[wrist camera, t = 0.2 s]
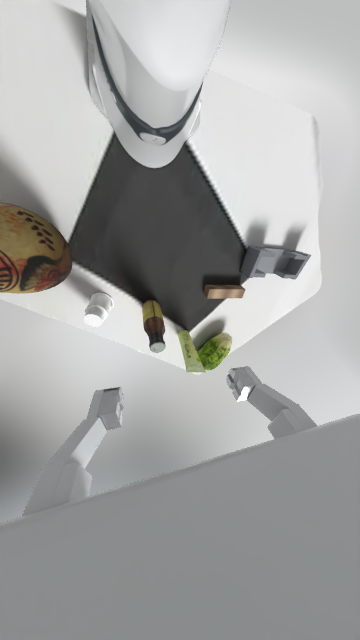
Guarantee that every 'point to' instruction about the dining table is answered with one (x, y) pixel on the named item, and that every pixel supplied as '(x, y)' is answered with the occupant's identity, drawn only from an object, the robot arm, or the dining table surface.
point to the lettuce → (215, 351)
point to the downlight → (98, 309)
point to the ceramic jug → (30, 252)
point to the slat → (224, 291)
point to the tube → (190, 353)
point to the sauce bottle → (154, 325)
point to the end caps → (273, 262)
